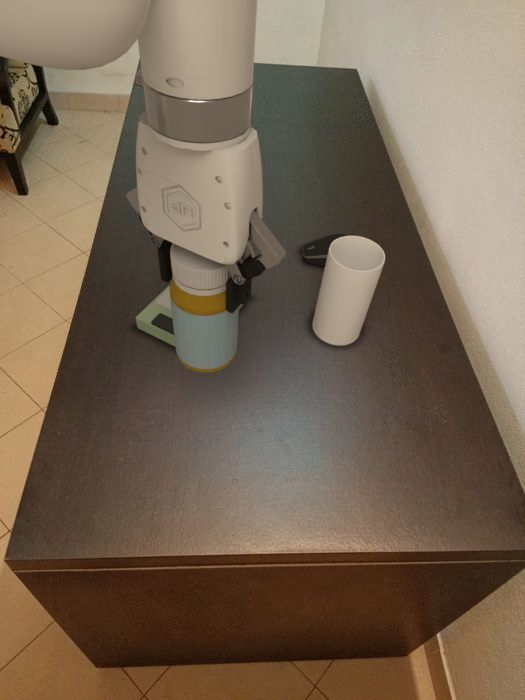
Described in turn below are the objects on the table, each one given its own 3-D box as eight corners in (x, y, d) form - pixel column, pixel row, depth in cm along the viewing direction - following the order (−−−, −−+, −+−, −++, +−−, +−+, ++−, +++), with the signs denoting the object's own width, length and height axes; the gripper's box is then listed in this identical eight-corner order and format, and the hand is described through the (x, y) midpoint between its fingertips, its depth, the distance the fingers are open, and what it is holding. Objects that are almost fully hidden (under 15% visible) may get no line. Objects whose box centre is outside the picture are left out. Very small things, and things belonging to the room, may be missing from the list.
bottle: (171, 372, 53) (158, 270, 41) (182, 327, 57) (173, 222, 45) (232, 379, 53) (237, 278, 41) (239, 333, 57) (245, 230, 46)
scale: (198, 358, 74) (197, 345, 71) (137, 328, 77) (134, 314, 74) (249, 298, 83) (250, 284, 80) (192, 273, 86) (191, 259, 84)
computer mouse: (300, 244, 94) (302, 227, 91) (360, 246, 95) (365, 230, 92) (303, 267, 89) (305, 250, 86) (366, 269, 90) (371, 253, 87)
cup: (354, 351, 77) (380, 278, 64) (306, 337, 78) (323, 262, 66) (364, 317, 82) (389, 243, 70) (318, 304, 83) (336, 229, 71)
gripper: (68, 89, 34) (112, 276, 47) (280, 166, 29) (260, 349, 43) (137, 59, 38) (158, 238, 52) (330, 122, 33) (298, 301, 47)
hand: (204, 287), depth 47 cm, fingers closed on bottle, 7 cm apart
